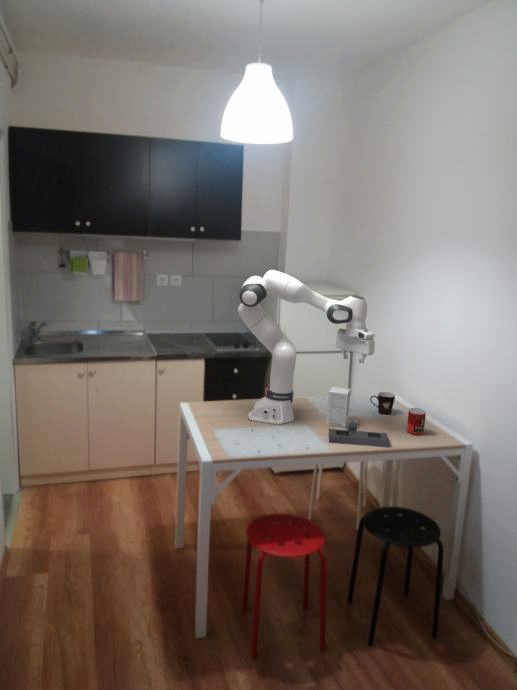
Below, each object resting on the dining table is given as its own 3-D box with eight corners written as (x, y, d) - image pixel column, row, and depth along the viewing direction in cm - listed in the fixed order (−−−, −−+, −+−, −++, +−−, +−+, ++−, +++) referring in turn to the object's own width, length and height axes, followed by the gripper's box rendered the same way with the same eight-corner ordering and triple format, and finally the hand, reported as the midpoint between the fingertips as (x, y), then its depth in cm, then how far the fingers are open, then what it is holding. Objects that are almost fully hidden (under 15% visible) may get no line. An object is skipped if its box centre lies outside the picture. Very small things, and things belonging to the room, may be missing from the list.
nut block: (347, 434, 263) (348, 421, 262) (347, 431, 267) (348, 418, 266) (356, 435, 263) (357, 422, 261) (355, 432, 267) (356, 419, 265)
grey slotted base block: (328, 442, 253) (329, 436, 252) (328, 434, 261) (328, 428, 261) (388, 447, 251) (389, 440, 250) (385, 439, 260) (386, 433, 259)
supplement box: (348, 421, 280) (351, 388, 276) (345, 427, 271) (348, 393, 268) (329, 418, 283) (332, 385, 279) (325, 424, 274) (328, 391, 270)
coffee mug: (395, 412, 296) (397, 394, 294) (389, 417, 289) (391, 398, 287) (374, 407, 302) (376, 389, 300) (368, 412, 295) (370, 393, 293)
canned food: (414, 436, 265) (417, 414, 262) (402, 430, 271) (405, 408, 269) (427, 434, 268) (429, 412, 266) (415, 428, 275) (417, 406, 272)
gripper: (333, 328, 266) (331, 357, 269) (369, 336, 251) (366, 366, 254) (342, 326, 270) (340, 355, 273) (377, 334, 256) (375, 364, 259)
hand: (353, 360), depth 264 cm, fingers open, 8 cm apart
